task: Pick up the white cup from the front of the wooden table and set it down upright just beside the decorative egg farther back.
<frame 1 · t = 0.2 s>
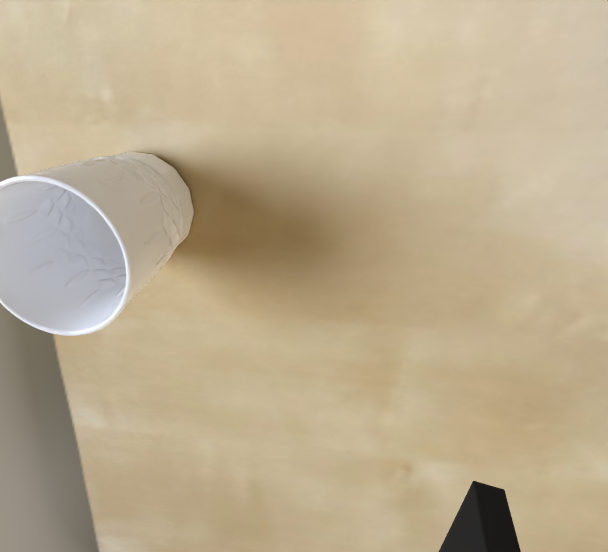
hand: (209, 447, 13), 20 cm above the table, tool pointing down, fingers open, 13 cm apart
white cup: (145, 203, 33), on the table
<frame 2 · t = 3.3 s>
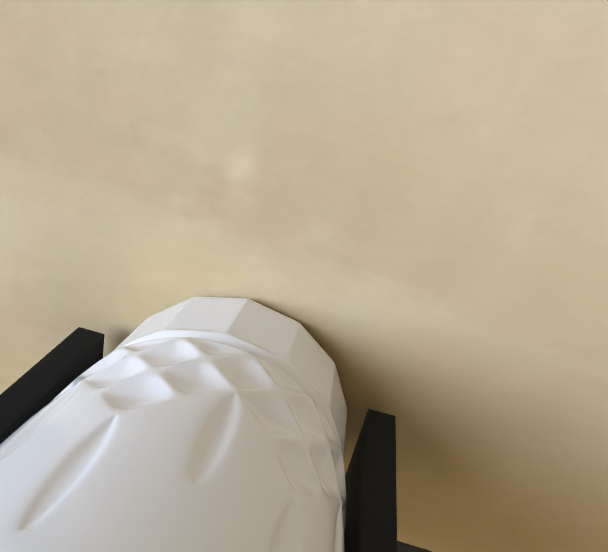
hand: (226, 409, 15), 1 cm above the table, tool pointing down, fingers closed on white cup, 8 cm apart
white cup: (235, 391, 15), on the table, touching gripper
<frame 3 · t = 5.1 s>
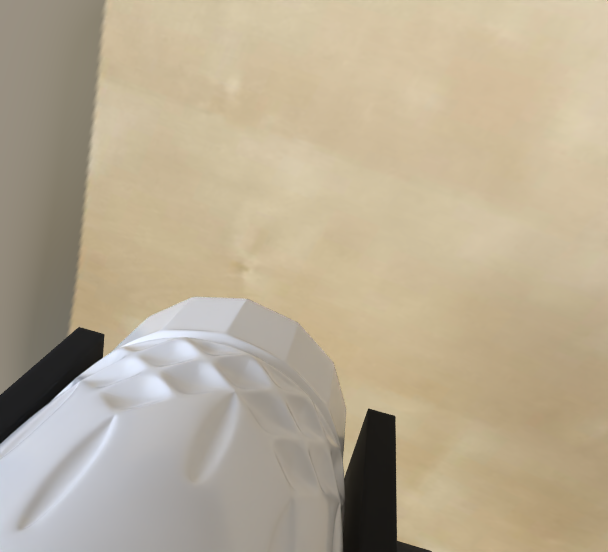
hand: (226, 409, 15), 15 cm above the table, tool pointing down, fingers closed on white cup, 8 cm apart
white cup: (234, 392, 15), point 14 cm above the table, touching gripper
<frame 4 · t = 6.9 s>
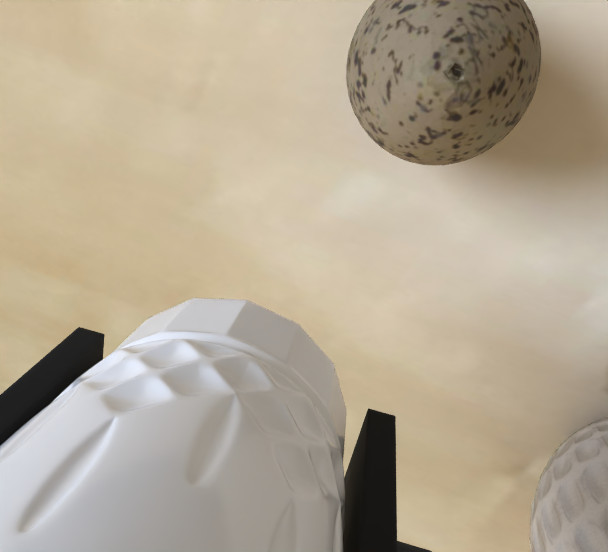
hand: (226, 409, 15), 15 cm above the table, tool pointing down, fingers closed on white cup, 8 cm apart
white cup: (234, 393, 15), point 14 cm above the table, touching gripper
decorative egg: (430, 68, 24), on the table
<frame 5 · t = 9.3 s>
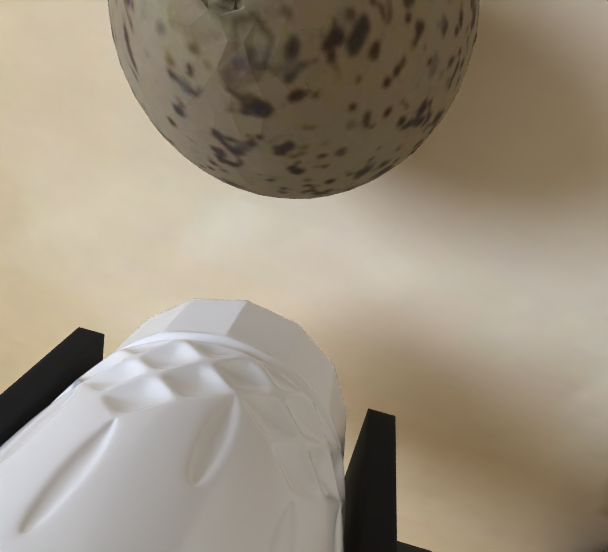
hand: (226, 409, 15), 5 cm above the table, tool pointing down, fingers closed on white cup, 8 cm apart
white cup: (234, 393, 15), point 4 cm above the table, touching gripper
decorative egg: (325, 34, 15), on the table
when the fingers open (1 cm above the table, at t = 10.8 s): white cup stays where it is, on the table.
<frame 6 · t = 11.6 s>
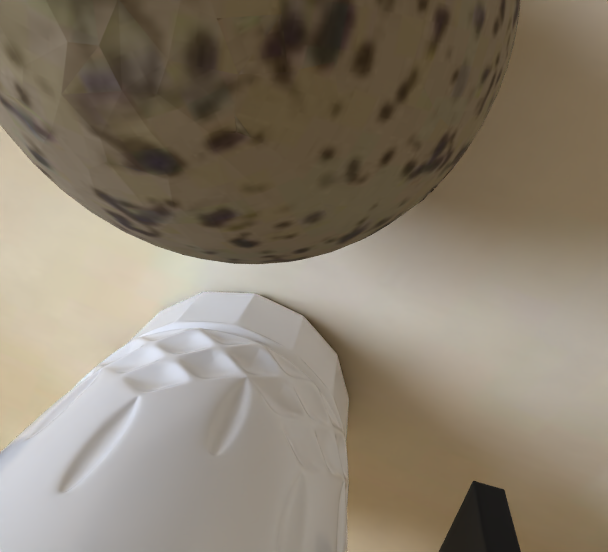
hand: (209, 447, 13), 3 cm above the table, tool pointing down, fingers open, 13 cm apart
white cup: (241, 382, 16), on the table
decorative egg: (309, 35, 12), on the table
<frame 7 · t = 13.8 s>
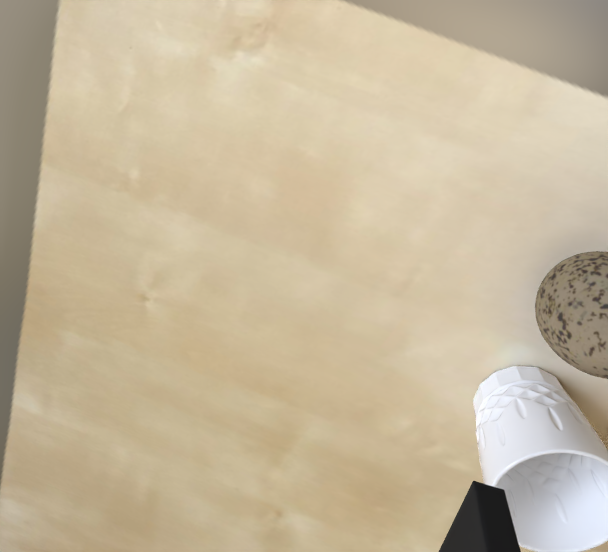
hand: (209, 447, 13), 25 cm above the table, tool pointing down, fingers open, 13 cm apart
white cup: (518, 401, 39), on the table
decorative egg: (576, 283, 35), on the table
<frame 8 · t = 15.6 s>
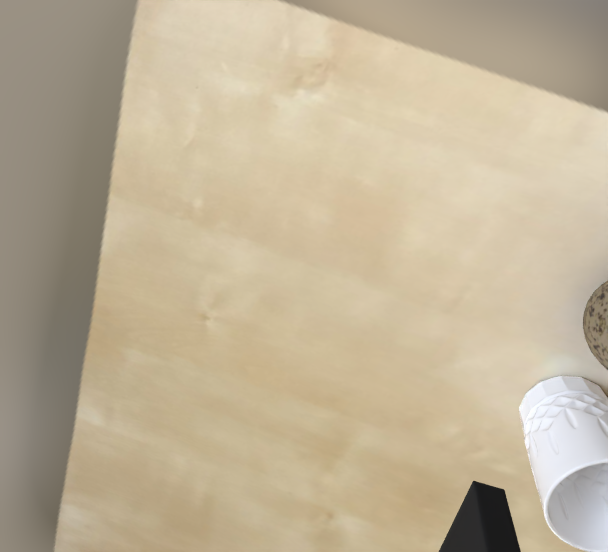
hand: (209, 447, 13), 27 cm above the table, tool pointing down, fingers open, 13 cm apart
white cup: (562, 408, 42), on the table
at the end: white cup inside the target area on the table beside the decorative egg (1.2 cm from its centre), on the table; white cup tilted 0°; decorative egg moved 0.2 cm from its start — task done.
